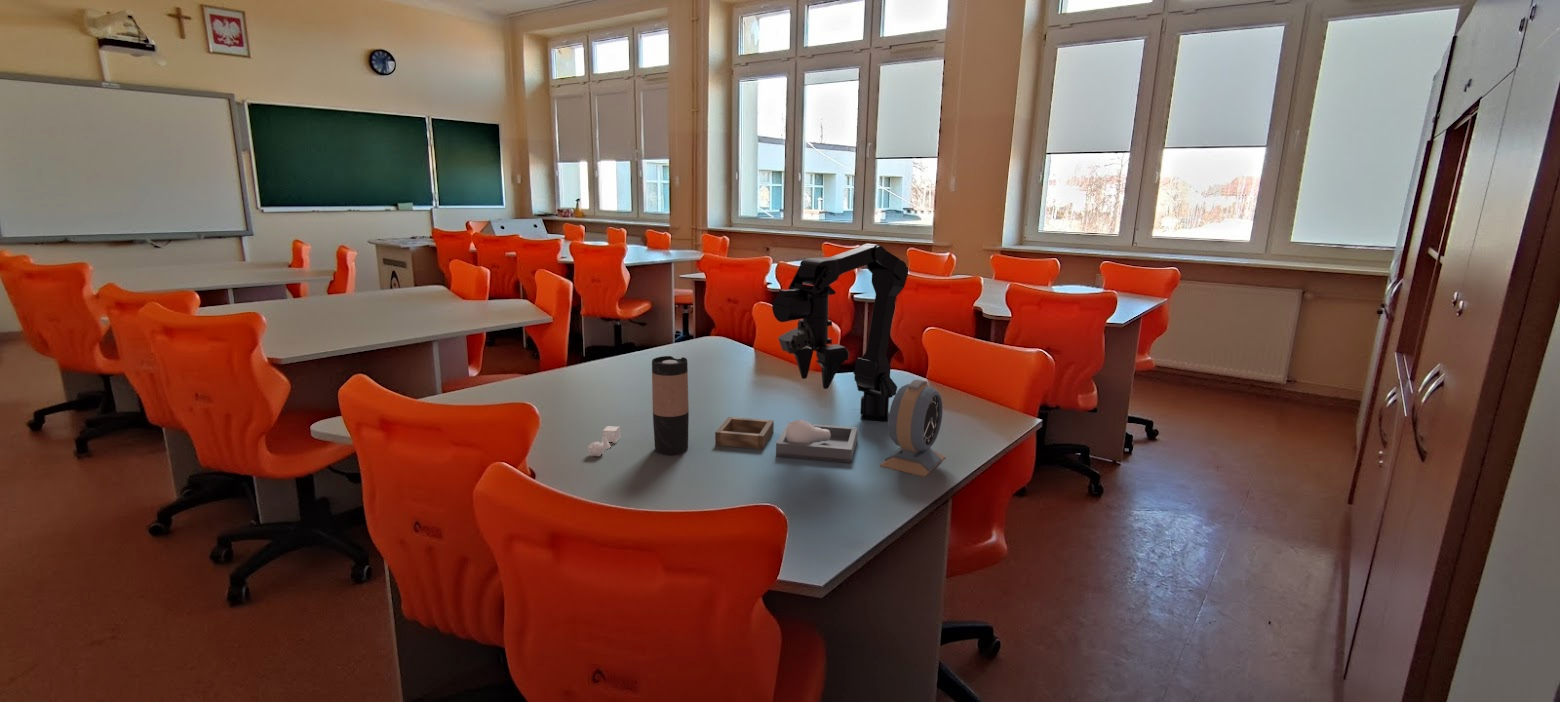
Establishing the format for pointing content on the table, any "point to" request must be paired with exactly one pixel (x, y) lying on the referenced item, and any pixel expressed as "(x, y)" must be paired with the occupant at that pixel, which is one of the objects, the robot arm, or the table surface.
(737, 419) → the socket block
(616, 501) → the table surface
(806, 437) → the lightbulb
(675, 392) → the travel mug
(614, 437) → the game pieces
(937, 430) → the alarm clock
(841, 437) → the tray
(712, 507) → the table surface
